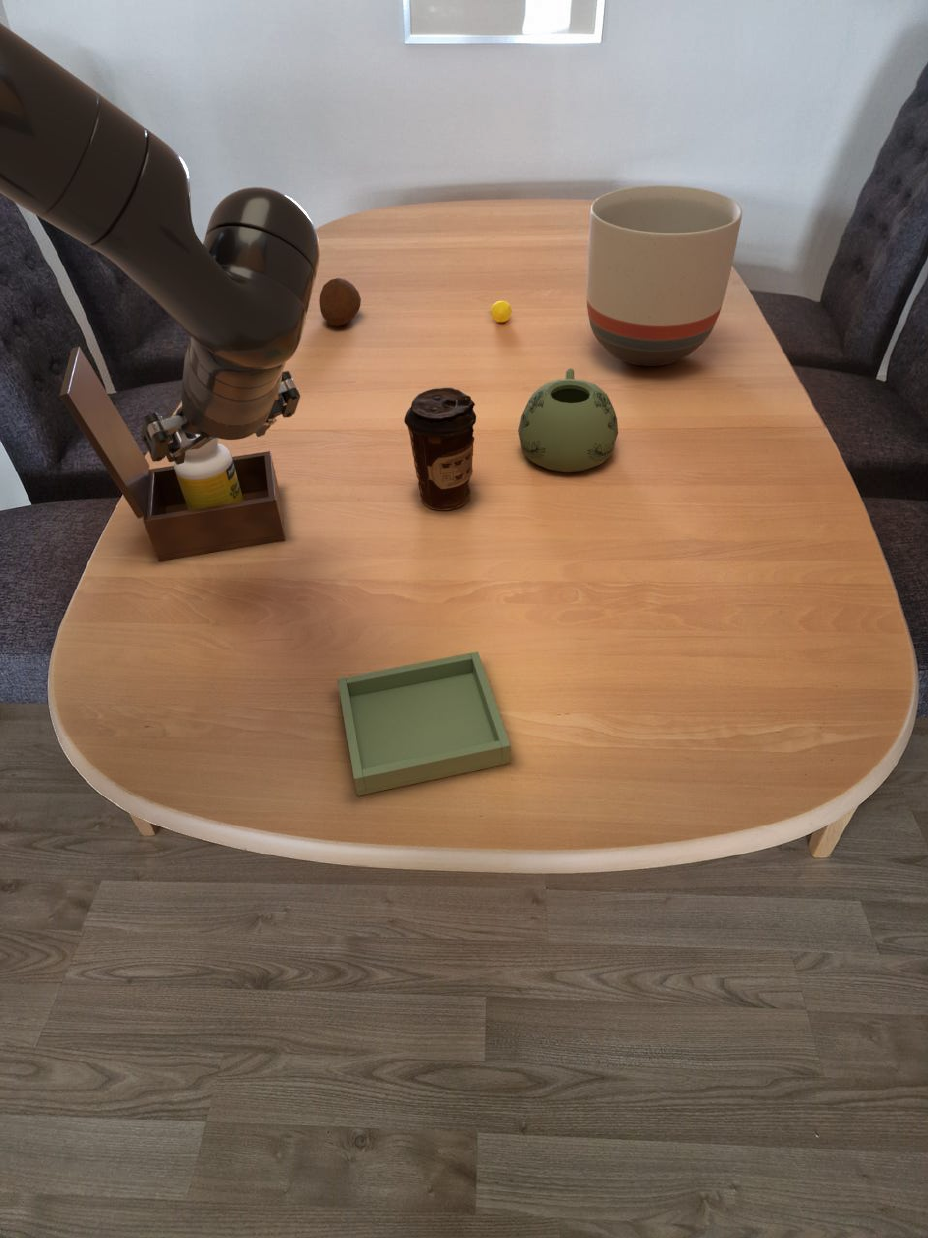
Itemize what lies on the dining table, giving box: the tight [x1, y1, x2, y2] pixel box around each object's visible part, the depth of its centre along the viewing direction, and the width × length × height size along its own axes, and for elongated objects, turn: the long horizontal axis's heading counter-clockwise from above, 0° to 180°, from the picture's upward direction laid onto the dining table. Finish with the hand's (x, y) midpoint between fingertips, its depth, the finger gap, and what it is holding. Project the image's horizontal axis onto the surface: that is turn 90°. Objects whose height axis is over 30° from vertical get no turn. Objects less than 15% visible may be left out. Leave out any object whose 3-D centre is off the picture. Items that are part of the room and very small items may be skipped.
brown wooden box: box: [142, 450, 286, 562], centre depth 96 cm, size 15×11×6 cm
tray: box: [336, 651, 512, 797], centre depth 73 cm, size 14×12×3 cm
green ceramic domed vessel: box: [517, 367, 619, 473], centre depth 105 cm, size 16×13×9 cm
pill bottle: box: [173, 432, 244, 510], centre depth 93 cm, size 6×6×12 cm
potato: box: [318, 277, 362, 327], centre depth 136 cm, size 7×10×7 cm
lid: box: [59, 346, 150, 519], centre depth 87 cm, size 16×11×1 cm
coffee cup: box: [403, 387, 477, 511], centre depth 96 cm, size 9×8×13 cm
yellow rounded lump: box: [490, 300, 513, 323], centre depth 136 cm, size 3×6×4 cm, turn 2°
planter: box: [585, 184, 743, 367], centre depth 118 cm, size 20×20×21 cm
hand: (216, 440), depth 81 cm, fingers open, 8 cm apart
